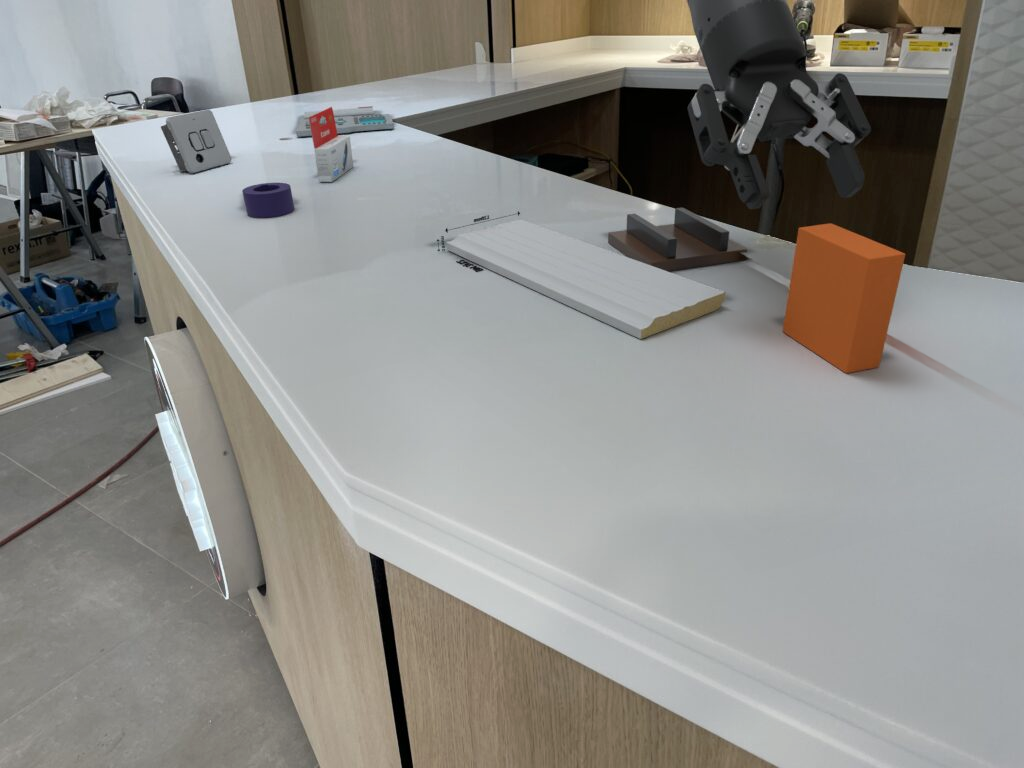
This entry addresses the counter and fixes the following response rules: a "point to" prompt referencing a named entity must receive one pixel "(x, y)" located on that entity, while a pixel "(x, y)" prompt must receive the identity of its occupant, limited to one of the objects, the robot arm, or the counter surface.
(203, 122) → the electrical switch
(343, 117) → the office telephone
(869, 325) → the orange rectangular block
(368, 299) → the counter surface
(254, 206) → the purple donut ring
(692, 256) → the brown slotted base
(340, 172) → the ink cartridge box
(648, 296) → the baseboard molding
